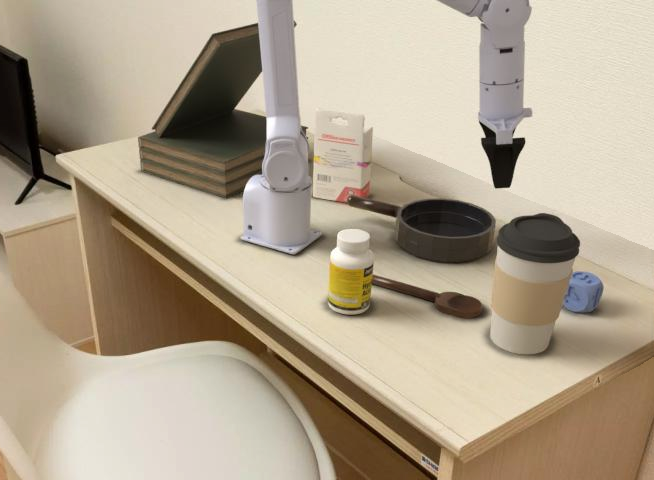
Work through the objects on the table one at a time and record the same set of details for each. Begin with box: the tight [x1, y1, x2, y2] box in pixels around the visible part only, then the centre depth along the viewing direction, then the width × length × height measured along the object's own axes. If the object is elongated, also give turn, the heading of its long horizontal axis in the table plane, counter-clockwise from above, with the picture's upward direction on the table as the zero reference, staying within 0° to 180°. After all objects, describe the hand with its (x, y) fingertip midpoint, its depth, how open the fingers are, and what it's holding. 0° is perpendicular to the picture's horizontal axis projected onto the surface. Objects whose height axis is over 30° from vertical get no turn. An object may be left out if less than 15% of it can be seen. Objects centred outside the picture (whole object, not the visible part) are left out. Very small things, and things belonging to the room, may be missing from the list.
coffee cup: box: [489, 212, 581, 355], centre depth 91 cm, size 9×9×15 cm
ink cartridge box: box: [312, 108, 374, 204], centre depth 128 cm, size 9×5×15 cm, turn 68°
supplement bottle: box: [327, 228, 375, 316], centre depth 99 cm, size 5×5×10 cm
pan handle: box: [346, 195, 402, 219], centre depth 121 cm, size 9×2×2 cm, turn 60°
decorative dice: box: [562, 270, 604, 314], centre depth 102 cm, size 4×4×4 cm
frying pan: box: [394, 197, 497, 263], centre depth 117 cm, size 14×14×4 cm
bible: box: [137, 20, 309, 199], centre depth 136 cm, size 23×20×25 cm
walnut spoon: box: [372, 273, 483, 319], centre depth 104 cm, size 19×4×1 cm, turn 60°
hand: (500, 176), depth 112 cm, fingers open, 7 cm apart
